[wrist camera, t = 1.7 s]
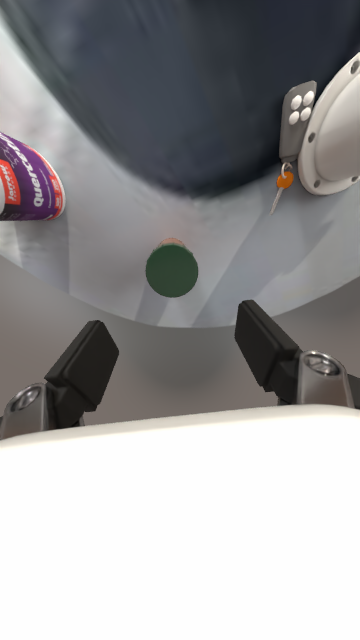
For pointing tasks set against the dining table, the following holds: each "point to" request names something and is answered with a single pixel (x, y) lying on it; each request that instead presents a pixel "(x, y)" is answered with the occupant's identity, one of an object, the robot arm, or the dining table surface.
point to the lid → (171, 270)
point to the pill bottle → (27, 184)
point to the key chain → (293, 129)
